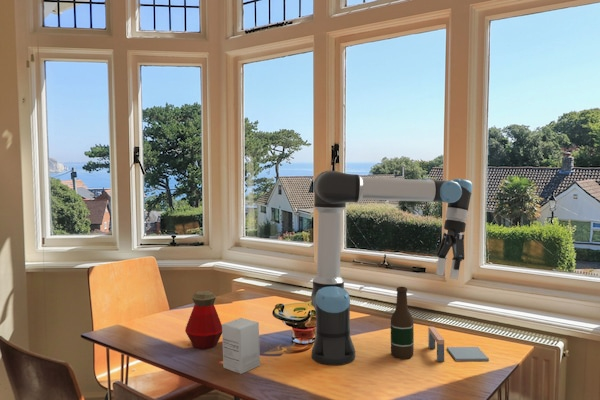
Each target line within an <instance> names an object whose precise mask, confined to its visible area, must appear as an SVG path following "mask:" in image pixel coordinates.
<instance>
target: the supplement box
mask: <svg viewBox="0 0 600 400" xmlns="http://www.w3.org/2000/svg"><path fill="white" fill-rule="evenodd" d="M221 324H222V335H221V338H222V339H221V340H222V360H223V361H222V366H223V367H222V368H223V369H227V370H228V371H232V372H234V373H237V374H241V375H242V374H244V373H247V372H249V371H252V370H253V369H256V368H258V367H260V365H261V357H260V356H261V355H260V353H261V352H260V351H261V350H260V327H259V326H260V324H259V322H258V321H255V320H250V319H247V318H244V317H239V318H237V319H233V320H231V321H228V322H227V321H226V322H225V323H221Z"/></svg>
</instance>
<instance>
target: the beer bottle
mask: <svg viewBox="0 0 600 400" xmlns="http://www.w3.org/2000/svg"><path fill="white" fill-rule="evenodd" d="M407 293H408V288H407V287H405V286H398V287H397V288H396V305H395V310H394V312H393V313H392V316H391V318H390V354H391V356H392V357H394V359H400V360H408V359H409V360H410V359H411V358H412V357H413V356H414V349H415V348H414V347H415V345H414V340H415V339H414V338H415V337H414V335H415V334H414V319H413V316H412V314H411V313H410V311H409V305H408V295H407Z"/></svg>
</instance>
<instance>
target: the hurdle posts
mask: <svg viewBox="0 0 600 400" xmlns="http://www.w3.org/2000/svg"><path fill="white" fill-rule="evenodd" d="M427 333H428V336H427V337H428V338H427V339H428V341H427V342H428V348H429V350H436V360H437V362H438V363H440V362H441V363H443V362H444V363H445V343H444V344H438V343H437V342H436V340H435V339H434V338H433V336H432V335H431V334H430V332H429V331H427Z"/></svg>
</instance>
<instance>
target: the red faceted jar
mask: <svg viewBox="0 0 600 400" xmlns="http://www.w3.org/2000/svg"><path fill="white" fill-rule="evenodd" d="M216 297H217V296H216V295H215V294H214V293H213V292H212V291H210V290H198V291H196V292H195V293H194V294H193V295H192V296H191V299H192V301H193V303H194V305H193V308H192V311H191V312H190V316H189V318H188V321H187V323H186V326H185V334H186V336H187V337H188V339H189V340H190V342H191V344H192V346H193V348H195V349H199V350H208V349H213V348H214V347H216V346H217V344H218V343H219V340H220V338H222V324H223V323H222V322H221V319H220V317H219V314H218V312H217V309H216V307H215V302H216Z"/></svg>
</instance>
